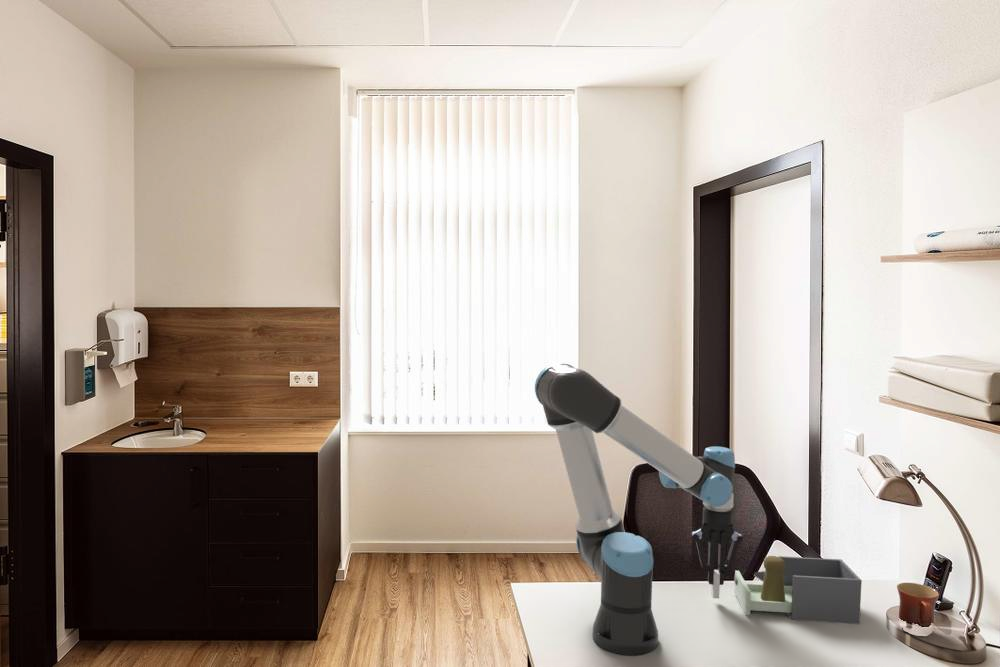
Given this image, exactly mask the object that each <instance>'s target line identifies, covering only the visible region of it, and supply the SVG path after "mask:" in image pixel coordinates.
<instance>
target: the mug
mask: <svg viewBox="0 0 1000 667" xmlns="http://www.w3.org/2000/svg"><path fill="white" fill-rule="evenodd" d="M896 588H897V593H898V595H899V606H898V617H899V618H900V619H901V620H903V621H909V622H912V623H914V624H918V625H919V626H921V627H929V626H930V625H931V623H934V624H935V609H936V608H935V607H936V603H937V601H938V599H939V597H940V593H939V592H938V590H936V589H935V588H933V587H930V586H927V585H924V584H921V583H916V582H901V583H898V584H897V585H896Z"/></svg>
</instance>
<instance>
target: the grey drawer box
mask: <svg viewBox="0 0 1000 667" xmlns="http://www.w3.org/2000/svg"><path fill="white" fill-rule="evenodd" d="M778 557H780V558H781V559H783V560H784V562H785V569H784V571H783V582H784V586H792V609H791V613H788V612H786V613H787V614H788V616H789V617H790V619H791V620H792V621H806V622H823V623H836V624H837V623H841V624H857V625H860V623H861V621H860V620H861V618H860V617H861V600H862V598H861V597H862V579H861V578H860V577H859V576H858V574H856V573H855V572H854V571H853V570H852V569H851V568H850V567H849V566H848V565H847V564H846V562H844V561H843V559H839V558H838V559H837V558H821V557H820V558H819V557H802V556H801V557H799V556H783V555H782V556H780V555H778Z"/></svg>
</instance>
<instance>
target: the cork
mask: <svg viewBox="0 0 1000 667" xmlns="http://www.w3.org/2000/svg"><path fill="white" fill-rule="evenodd" d="M763 567H764V569H765V570H764V571H765V575H764V581H763V582H762V584H763V586H762V592H761V599H762V600H763V601H774V602H785V592H784V582H783V571H784V569H785V562H784V560H783V559H781V558H780V557H779V556H777V555H776V556H775V555H769V556H765V557H764V559H763Z"/></svg>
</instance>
